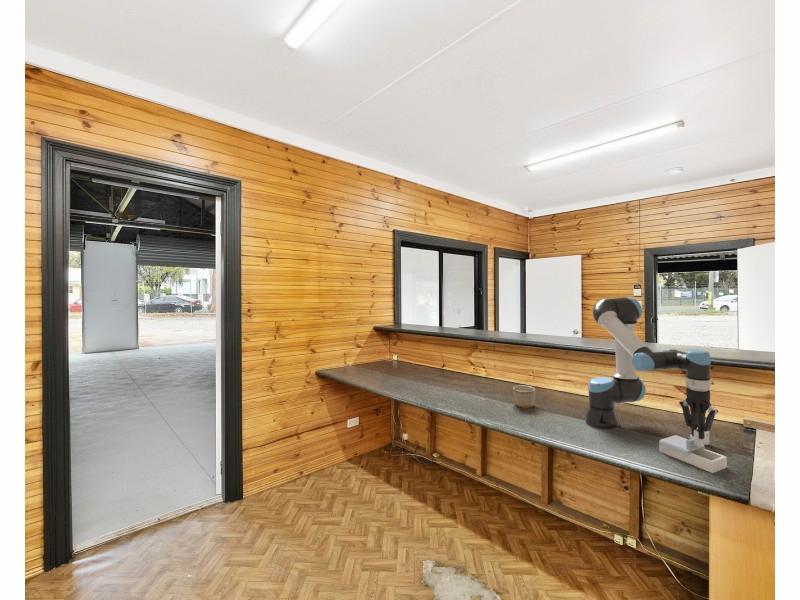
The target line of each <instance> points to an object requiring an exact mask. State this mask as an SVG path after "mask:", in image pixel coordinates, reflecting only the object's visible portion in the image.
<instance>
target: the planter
mask: <svg viewBox="0 0 800 600" xmlns="http://www.w3.org/2000/svg"><path fill="white" fill-rule="evenodd" d="M512 391H513V398H514V405H515V406H516V407H517V406H518V408H520V407H521V409H531V408H533V407H534V405H535V398H536V397H535V396H536V388H535V387H533V386H530V385H525V384H524V385H516V386H513V387H512Z"/></svg>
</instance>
